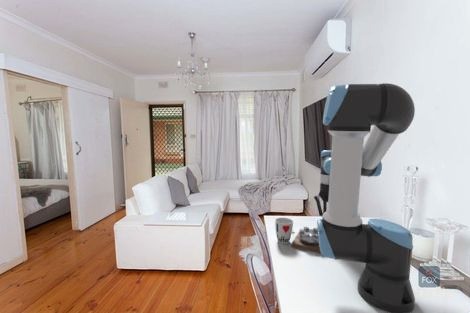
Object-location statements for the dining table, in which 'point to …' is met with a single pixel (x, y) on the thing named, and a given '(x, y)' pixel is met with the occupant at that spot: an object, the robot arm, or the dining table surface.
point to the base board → (304, 245)
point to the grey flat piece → (309, 236)
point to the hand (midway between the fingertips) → (327, 230)
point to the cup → (283, 229)
